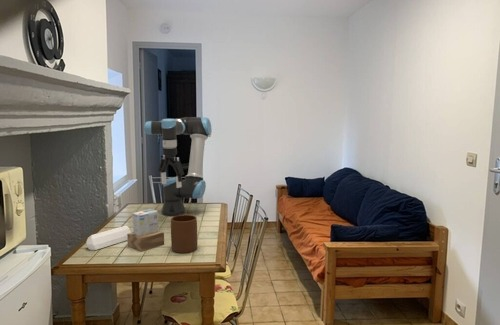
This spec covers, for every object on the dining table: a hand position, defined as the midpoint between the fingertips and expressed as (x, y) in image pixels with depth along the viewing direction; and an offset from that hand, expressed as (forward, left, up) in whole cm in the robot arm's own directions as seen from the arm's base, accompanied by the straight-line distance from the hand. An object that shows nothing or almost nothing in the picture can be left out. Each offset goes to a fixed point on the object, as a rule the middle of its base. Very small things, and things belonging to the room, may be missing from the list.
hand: (171, 185), depth 211 cm
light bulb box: (+10, -24, -19) cm, 32 cm away
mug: (+26, -12, -25) cm, 39 cm away
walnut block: (+10, -24, -25) cm, 36 cm away
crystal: (-5, -35, -26) cm, 43 cm away
